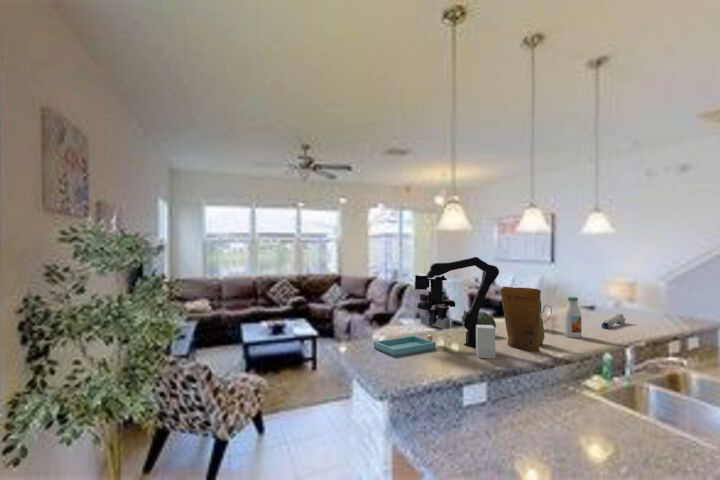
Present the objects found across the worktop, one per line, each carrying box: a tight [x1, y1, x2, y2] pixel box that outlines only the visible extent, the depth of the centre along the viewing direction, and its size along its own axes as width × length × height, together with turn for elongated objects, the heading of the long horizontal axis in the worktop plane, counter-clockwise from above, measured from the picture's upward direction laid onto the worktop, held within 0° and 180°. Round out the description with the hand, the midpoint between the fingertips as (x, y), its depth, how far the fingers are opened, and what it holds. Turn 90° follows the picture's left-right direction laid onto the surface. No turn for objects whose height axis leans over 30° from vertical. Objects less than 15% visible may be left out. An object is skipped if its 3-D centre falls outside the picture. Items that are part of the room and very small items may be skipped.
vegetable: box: [477, 311, 497, 329], centre depth 220 cm, size 12×13×15 cm
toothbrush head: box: [601, 312, 626, 330], centre depth 238 cm, size 5×7×25 cm
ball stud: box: [427, 334, 433, 342], centre depth 202 cm, size 2×2×4 cm
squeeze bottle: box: [538, 314, 546, 346], centre depth 198 cm, size 8×8×18 cm
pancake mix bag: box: [499, 286, 542, 353], centre depth 191 cm, size 7×19×28 cm, turn 36°
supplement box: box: [475, 325, 496, 359], centre depth 179 cm, size 7×7×13 cm
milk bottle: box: [563, 296, 582, 339], centre depth 213 cm, size 8×8×20 cm
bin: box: [373, 335, 437, 357], centre depth 191 cm, size 16×23×3 cm
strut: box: [420, 313, 451, 330], centre depth 198 cm, size 16×6×4 cm, turn 30°
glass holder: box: [540, 300, 553, 324], centre depth 230 cm, size 9×14×15 cm, turn 43°
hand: (436, 322), depth 198 cm, fingers closed on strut, 3 cm apart
